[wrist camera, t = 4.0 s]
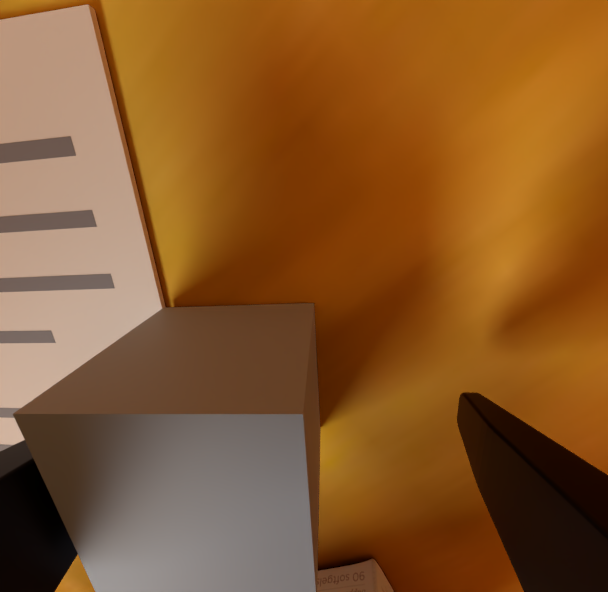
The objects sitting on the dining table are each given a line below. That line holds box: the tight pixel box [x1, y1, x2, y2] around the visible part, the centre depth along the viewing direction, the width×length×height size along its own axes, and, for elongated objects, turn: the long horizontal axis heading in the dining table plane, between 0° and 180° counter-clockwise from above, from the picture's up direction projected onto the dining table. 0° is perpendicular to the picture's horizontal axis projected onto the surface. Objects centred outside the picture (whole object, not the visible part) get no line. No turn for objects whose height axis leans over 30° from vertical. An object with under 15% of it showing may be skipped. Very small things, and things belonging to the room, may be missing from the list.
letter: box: [0, 4, 166, 451], centre depth 12 cm, size 14×21×1 cm, turn 4°
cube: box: [13, 303, 320, 592], centre depth 8 cm, size 5×5×5 cm
